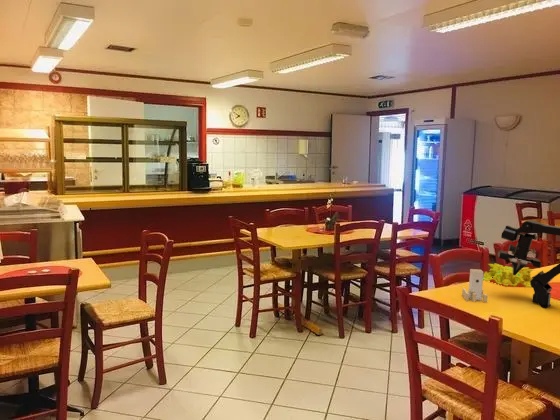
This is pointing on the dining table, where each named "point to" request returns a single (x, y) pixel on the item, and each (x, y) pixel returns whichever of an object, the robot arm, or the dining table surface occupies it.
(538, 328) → the dining table surface
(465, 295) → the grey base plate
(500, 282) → the decorative piece
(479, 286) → the pillar on grey plate
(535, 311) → the dining table surface
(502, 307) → the dining table surface
